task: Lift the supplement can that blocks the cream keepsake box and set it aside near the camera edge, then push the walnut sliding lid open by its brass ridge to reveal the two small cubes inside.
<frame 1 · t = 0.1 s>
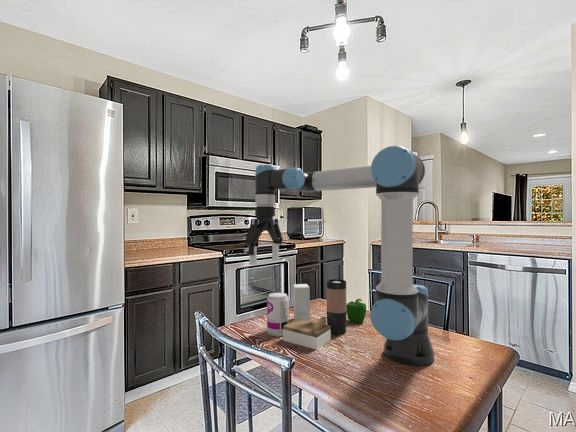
hand: (264, 262, 118), 28 cm above the table, fingers open, 13 cm apart
skincare box: (301, 322, 134), on the table
cube terracotta: (314, 340, 112), resting on keepsake box
travel mug: (336, 333, 121), on the table
bell pepper: (355, 321, 134), on the table
keepsake box: (306, 341, 112), on the table
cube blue: (298, 340, 112), resting on keepsake box
lid: (306, 322, 112), point 7 cm above the table, slide at 0.0 cm
supplement can: (277, 334, 120), on the table
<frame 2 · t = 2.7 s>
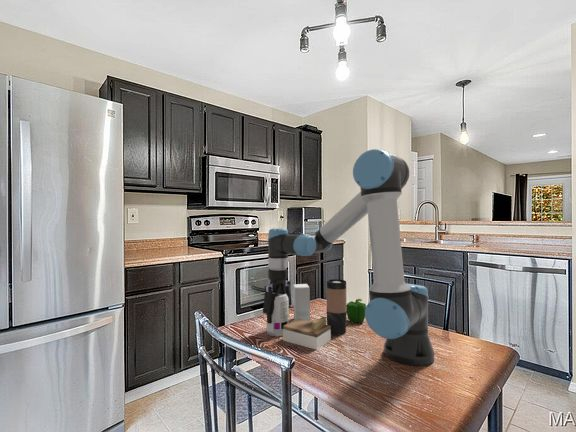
hand: (277, 327, 120), 2 cm above the table, fingers closed on supplement can, 8 cm apart
supplement can: (277, 334, 120), on the table, touching gripper
everything else where it was.
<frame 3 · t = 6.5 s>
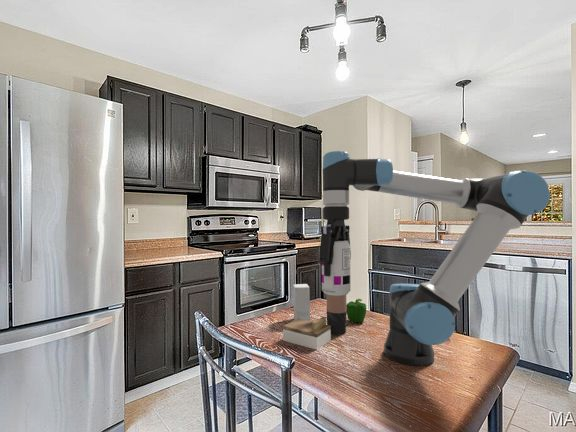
hand: (336, 284, 90), 25 cm above the table, fingers closed on supplement can, 8 cm apart
supplement can: (335, 293, 90), point 23 cm above the table, touching gripper
everything else where it was.
when the fingers open (4 cm above the table, at t = 10.4 s): supplement can drops 1 cm, on the table.
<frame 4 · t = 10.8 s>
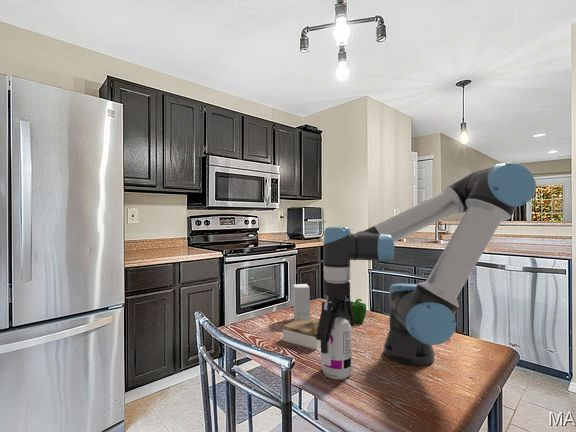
hand: (336, 355, 89), 5 cm above the table, fingers open, 13 cm apart
supplement can: (336, 374, 89), on the table
everything else where it was.
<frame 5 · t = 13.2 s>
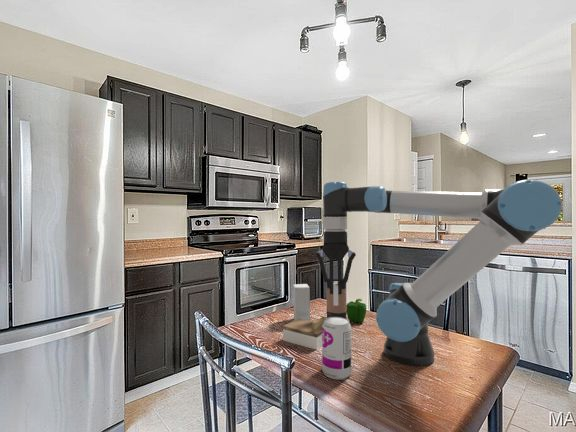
hand: (335, 304, 99), 17 cm above the table, fingers closed
nothing on the table moved.
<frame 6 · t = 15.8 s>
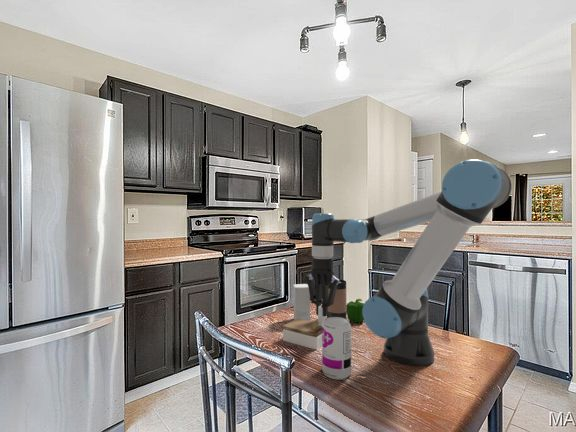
hand: (321, 324, 109), 7 cm above the table, fingers closed
lid: (306, 322, 112), point 7 cm above the table, slide at 0.3 cm, touching gripper
everything else where it was.
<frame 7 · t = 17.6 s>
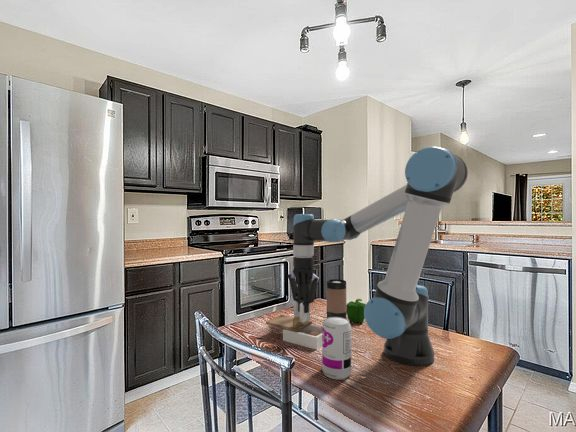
hand: (303, 321, 113), 7 cm above the table, fingers closed
lid: (289, 318, 117), point 7 cm above the table, slide at 7.8 cm, touching gripper
everything else where it was.
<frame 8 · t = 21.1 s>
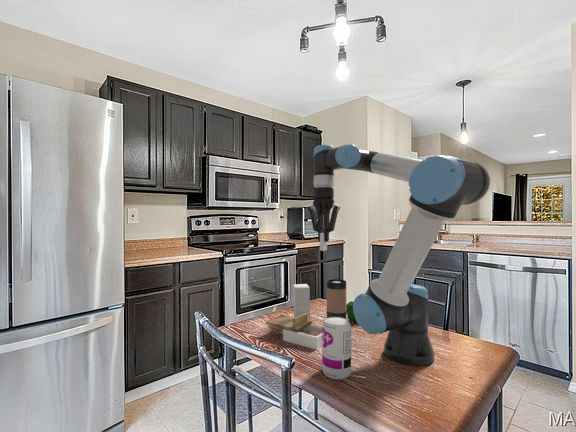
hand: (323, 250, 117), 32 cm above the table, fingers closed
lid: (289, 318, 117), point 7 cm above the table, slide at 7.8 cm
everything else where it was.
at the end: lid slide at 7.8 cm; supplement can inside the target area (0.0 cm from its centre), on the table; supplement can tilted 0° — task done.
